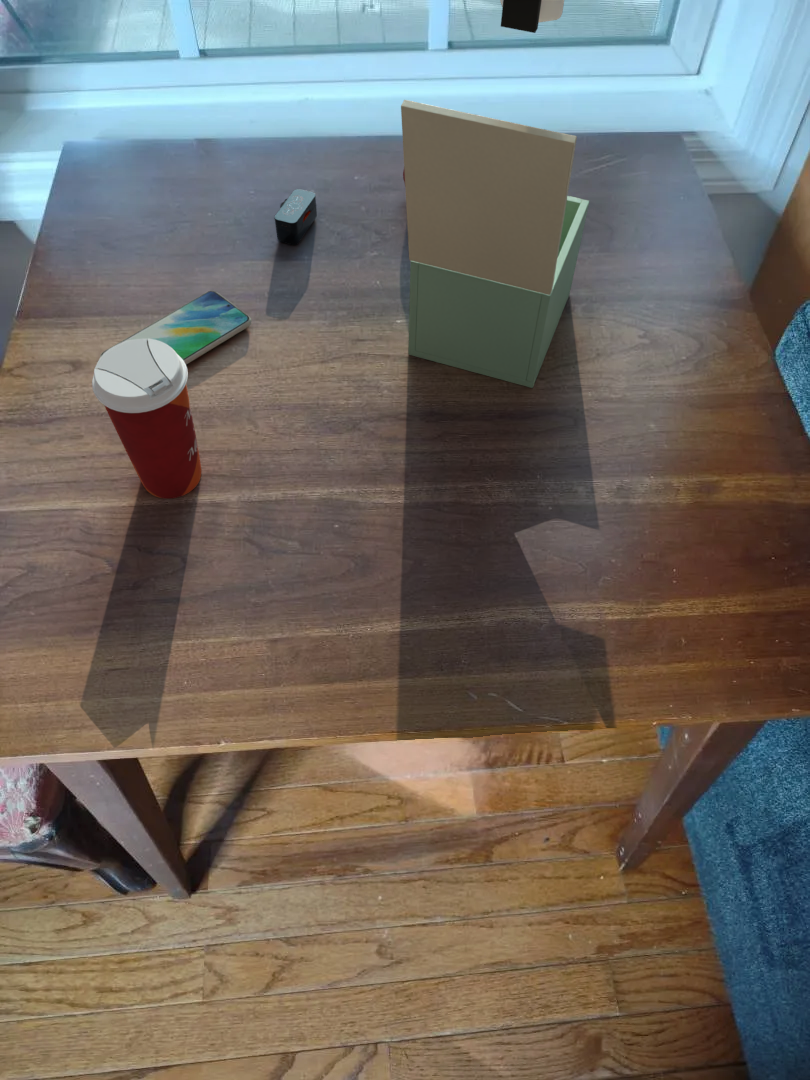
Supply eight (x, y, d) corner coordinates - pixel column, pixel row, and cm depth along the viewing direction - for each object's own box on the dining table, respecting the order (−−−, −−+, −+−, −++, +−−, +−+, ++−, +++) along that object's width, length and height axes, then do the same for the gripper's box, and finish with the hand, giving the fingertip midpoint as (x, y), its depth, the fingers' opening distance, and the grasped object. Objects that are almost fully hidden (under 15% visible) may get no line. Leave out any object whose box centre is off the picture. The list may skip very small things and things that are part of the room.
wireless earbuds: (321, 213, 104) (319, 189, 102) (297, 248, 100) (294, 224, 98) (286, 205, 105) (283, 180, 102) (261, 239, 101) (257, 214, 99)
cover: (404, 99, 66) (400, 106, 66) (577, 135, 63) (574, 143, 63) (411, 254, 81) (409, 260, 81) (552, 289, 78) (550, 295, 78)
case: (454, 265, 99) (461, 171, 89) (569, 294, 97) (589, 200, 87) (407, 354, 91) (410, 261, 81) (532, 388, 88) (550, 296, 79)
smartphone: (96, 354, 89) (212, 287, 95) (98, 360, 89) (213, 294, 96) (137, 390, 86) (254, 318, 92) (139, 396, 86) (255, 325, 93)
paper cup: (229, 476, 81) (203, 367, 70) (162, 522, 78) (123, 416, 66) (180, 431, 84) (147, 319, 73) (113, 473, 81) (67, 364, 70)
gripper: (560, -470, 53) (514, -46, 72) (472, -418, 43) (446, 56, 63) (681, -460, 52) (602, -31, 71) (619, -404, 42) (546, 76, 61)
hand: (529, 9), depth 67 cm, fingers closed on pepper shaker, 5 cm apart
